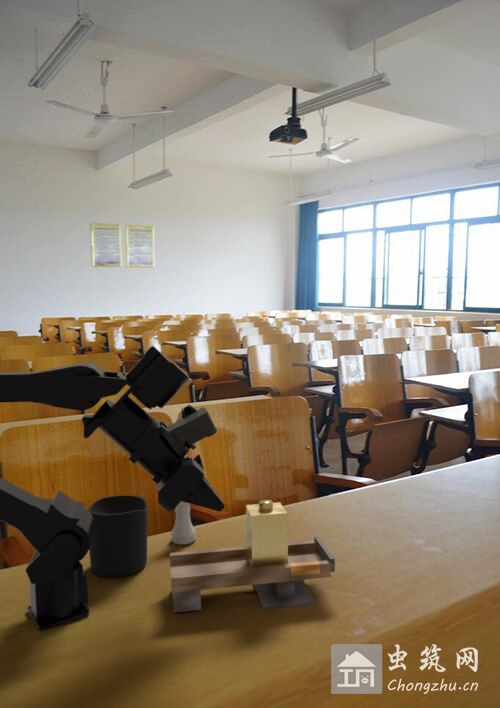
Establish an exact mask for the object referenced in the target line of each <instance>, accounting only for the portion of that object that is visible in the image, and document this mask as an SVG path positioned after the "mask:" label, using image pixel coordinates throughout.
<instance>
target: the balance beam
mask: <svg viewBox="0 0 500 708" xmlns="http://www.w3.org/2000/svg"><path fill="white" fill-rule="evenodd" d="M169 565H170V586H171V594H172V603H173V604H172V605H173V613H182V612H191V611H193V612H194V611H200V610H202V601H201V600H202V595H201V594H202V593H201V592H202V591H205V590H212V589H213V590H214V589H222V588H233V587H242V586H254V587H255V590H256V592H257V596H258V599H259V602H260V603H261V607H262V609H263V610H269V609H278V608H279V609H280V608H286V607H297V606H306V605H314V604H315V599H314V596H313V595H312V593H311V591H310V590H309V587H308V586H307V585H306V582H305V581H304V580H313V579H323V578H331V577H332V575H331V574H332V572H333V573H334V572H335V571H336V559H335V557H334V556H333V554H332V552H331V551H330V550H329V549H328V547H327V546H326V544H325V543H324V542H323V541H322V539H321V538H320V536H319V535H314V537H313V540H303V541H301V540H300V541H290V542H288V564H284V565H274V566H263V567H252V568H250V565H249V563H248V560H247V545H245V546H235V547H234V546H233V547H224V548H213V549H212V548H211V549H200V550H199V549H198V550H189V551H187V550H186V551H178V552H176V551H175V552H170V553H169Z"/></svg>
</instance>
